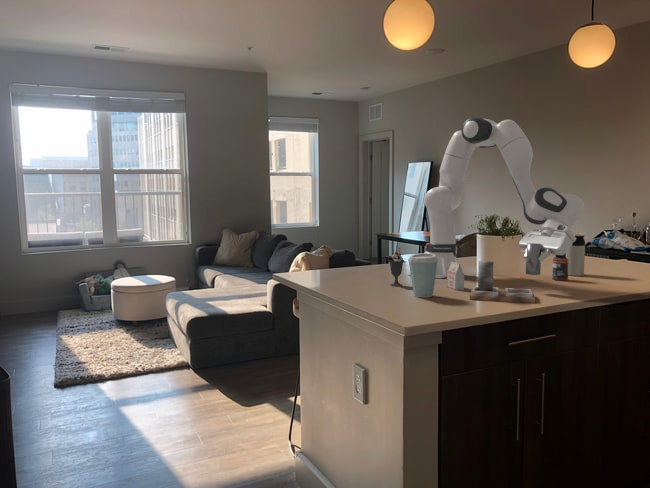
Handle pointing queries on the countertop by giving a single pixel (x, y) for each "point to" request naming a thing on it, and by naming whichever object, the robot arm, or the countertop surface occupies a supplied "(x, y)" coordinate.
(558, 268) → the supplement bottle
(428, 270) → the disposable coffee cup
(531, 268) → the loose pin
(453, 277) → the milk carton
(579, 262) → the travel mug
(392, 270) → the sundae
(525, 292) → the board
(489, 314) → the countertop surface
